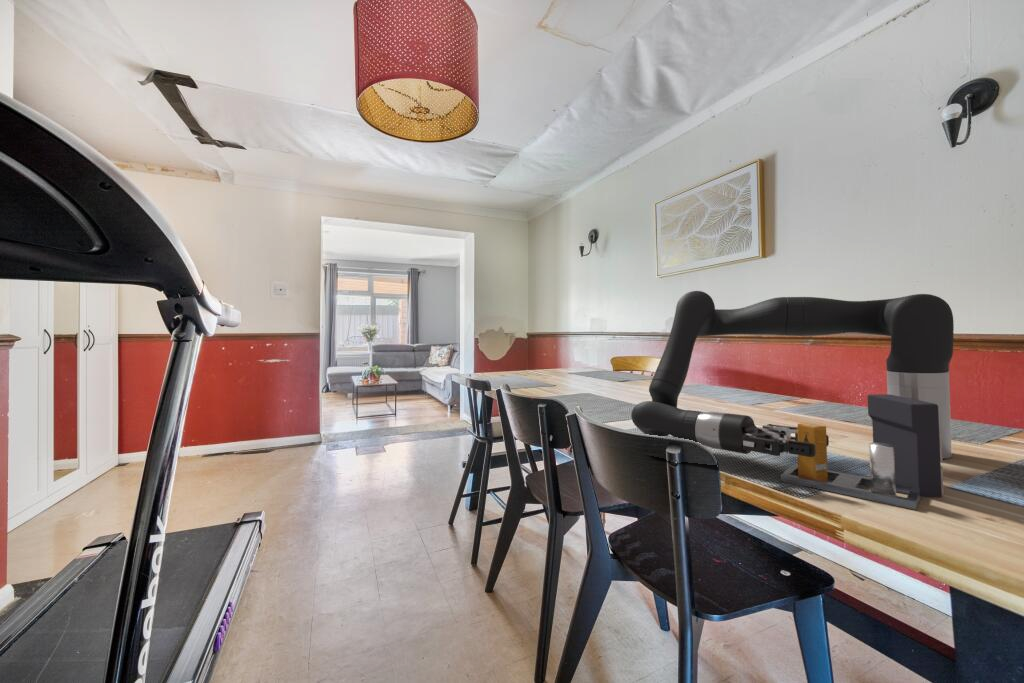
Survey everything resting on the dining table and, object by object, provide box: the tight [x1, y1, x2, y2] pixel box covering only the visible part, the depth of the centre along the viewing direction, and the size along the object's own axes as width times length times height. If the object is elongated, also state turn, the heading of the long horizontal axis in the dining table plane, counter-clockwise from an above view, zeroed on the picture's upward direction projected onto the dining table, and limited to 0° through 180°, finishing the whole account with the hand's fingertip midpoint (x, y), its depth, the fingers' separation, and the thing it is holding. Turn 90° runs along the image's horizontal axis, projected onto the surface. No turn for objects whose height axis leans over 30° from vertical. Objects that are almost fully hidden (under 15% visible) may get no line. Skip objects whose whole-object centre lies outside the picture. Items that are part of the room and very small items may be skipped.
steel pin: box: [868, 442, 897, 496], centre depth 64 cm, size 3×3×8 cm
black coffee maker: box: [867, 394, 944, 499], centre depth 68 cm, size 11×4×15 cm, turn 167°
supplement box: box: [796, 422, 829, 482], centre depth 71 cm, size 3×3×10 cm
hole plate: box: [780, 463, 922, 511], centre depth 67 cm, size 8×17×1 cm, turn 40°
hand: (821, 445), depth 70 cm, fingers open, 8 cm apart
